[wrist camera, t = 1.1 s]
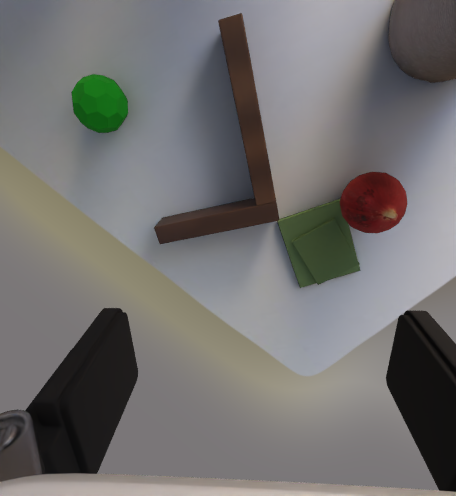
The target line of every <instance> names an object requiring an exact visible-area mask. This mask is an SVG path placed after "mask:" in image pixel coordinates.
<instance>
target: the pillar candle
mask: <svg viewBox="0 0 456 496" xmlns="http://www.w3.org/2000/svg"><path fill="white" fill-rule="evenodd" d="M389 47H390V50H391V53H392V56H393V59H394V60H395V62H396V63H397V64H398V66H399V68H400V69H401V70H402V71H404V72H405V73H406V74H408V75H409V76H411V77H414V78H416V79H419V80H424V81H428V82H430V83H435V82H444V81H448V80H453V79H456V0H395V1H394V4H393V7H392V12H391V17H390V21H389Z"/></svg>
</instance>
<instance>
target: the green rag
mask: <svg viewBox="0 0 456 496" xmlns="http://www.w3.org/2000/svg"><path fill="white" fill-rule="evenodd" d="M277 222H278V225H279V228H280V231H281V234H282V237H283V240H284V242H285V245H286V248H287V251H288V254H289V257H290V260H291V263H292V266H293V269H294V272H295V274H296V277H297V280H298V283H299V286H300V288H302V287H305V286H309V285H312V284H315V283H317V284H318V285H319V284H321V283H323V282H325V281H327V280H329V279H333V278H336V277H340V276H343V275H346V274H350V273H353V272H357V271H360V267H359V262H358V260H357V256H356V252H355V248H354V244H353V240H352V237H351V233H350V229H349V225H348V223H347V221H346V220H345V219H344V218H343V216H342V213H341V208H340V199H338V200H335V201H332V202H329V203H326V204H323V205H320V206H317V207H314V208H311V209H309V210H306V211H303V212H300V213H297V214H294V215H291V216H288V217H285V218H282V219H279V221H277Z"/></svg>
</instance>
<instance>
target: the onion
mask: <svg viewBox="0 0 456 496" xmlns="http://www.w3.org/2000/svg"><path fill="white" fill-rule="evenodd" d="M406 207H407V197H406V191H405V190H404V188H403V186H402V185H401V183H400V182H399V181H398V180H397V179H396V178H394V177H392V176H391V175H389V174H387V173H381V172H369V173H366V174H362V175H359V176H358V177H356V178H355V179H353V180H352V181H350V183H349V184H348V185H347V186H346V188H345V189H344V190H343V193H342V196H341V199H340V208H341V213H342V216H343V218H344V219H345V220H346V221H347V223H348V224H349V225H350V226H351V227H353V228H355V229H357V230H359V231H362V232H365V233H380V232H383V231H386V230H389V229H391V228H392V227H394V226H395V225H397V224H398V223H399V222H400V220H401V219H402V217H403V216H404V214H405V211H406Z"/></svg>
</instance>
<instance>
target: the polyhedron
mask: <svg viewBox="0 0 456 496" xmlns="http://www.w3.org/2000/svg"><path fill="white" fill-rule="evenodd" d="M72 101H73V110H74V114H75V115H76V116H77V118H78V119H79V120H80V122H81V123H82V124H83V125H85V126H86V127H87V128H88V129H91V130H93V131H95V132H98V133H108V132H112V131H115V130H117V129H118V128H119V127H120V126H121V125H122V123H123V122H124V120H125V118H126V117H127V115H128V101H127V98H126V96H125V95H124V93H123V92H122V90H121V89H120V87H119V86H118V85H117V84H116V82H115V81H114V80H112V79H110V78H107V77H105V76H102V75H95V74H93V75H89V76H86V77H83V78H82V79H81V80H80V81H78V82H77V84H76V86H75V87H74V89H73V91H72Z"/></svg>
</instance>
